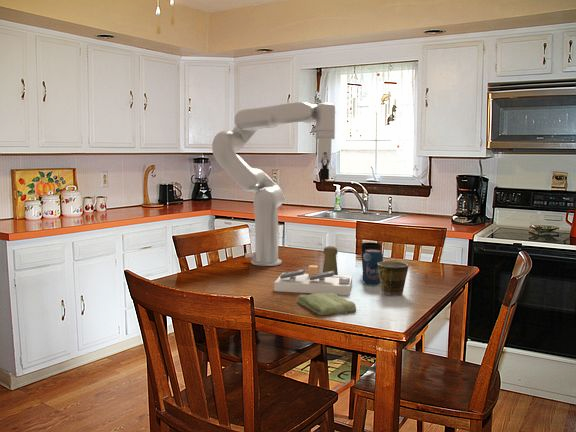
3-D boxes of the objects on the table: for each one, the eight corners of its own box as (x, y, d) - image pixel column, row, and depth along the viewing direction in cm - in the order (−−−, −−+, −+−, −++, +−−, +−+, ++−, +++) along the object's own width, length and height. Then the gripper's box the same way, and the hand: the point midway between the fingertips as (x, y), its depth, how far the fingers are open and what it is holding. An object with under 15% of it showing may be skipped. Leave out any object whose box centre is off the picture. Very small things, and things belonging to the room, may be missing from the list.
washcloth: (332, 298, 177) (332, 288, 177) (359, 313, 161) (359, 303, 160) (294, 302, 172) (294, 292, 172) (318, 318, 156) (318, 307, 155)
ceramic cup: (386, 288, 189) (387, 259, 188) (412, 293, 183) (413, 263, 181) (366, 295, 179) (367, 265, 178) (393, 301, 173) (394, 270, 171)
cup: (357, 276, 207) (357, 244, 205) (364, 272, 213) (364, 241, 212) (376, 278, 203) (377, 246, 202) (383, 274, 210) (384, 243, 208)
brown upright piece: (337, 277, 204) (337, 248, 203) (321, 276, 206) (321, 247, 204) (338, 273, 210) (339, 245, 209) (323, 273, 211) (323, 244, 210)
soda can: (367, 286, 191) (368, 252, 190) (359, 281, 198) (360, 249, 196) (385, 285, 193) (386, 251, 192) (377, 280, 200) (378, 248, 198)
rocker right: (310, 280, 183) (309, 277, 183) (311, 277, 187) (310, 274, 187) (333, 275, 182) (332, 272, 182) (334, 273, 186) (333, 270, 186)
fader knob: (308, 275, 192) (308, 266, 192) (309, 273, 195) (309, 265, 194) (316, 275, 191) (317, 267, 191) (317, 273, 194) (318, 265, 194)
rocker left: (280, 279, 185) (279, 276, 185) (282, 276, 189) (282, 273, 189) (303, 274, 183) (302, 271, 183) (305, 271, 187) (304, 268, 187)
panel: (274, 291, 184) (274, 277, 183) (282, 280, 198) (282, 268, 198) (349, 295, 179) (349, 281, 179) (352, 284, 194) (352, 271, 194)
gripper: (315, 135, 224) (315, 177, 226) (315, 134, 207) (314, 180, 209) (334, 136, 224) (333, 178, 226) (335, 134, 207) (334, 180, 209)
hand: (324, 179), depth 218 cm, fingers open, 9 cm apart
